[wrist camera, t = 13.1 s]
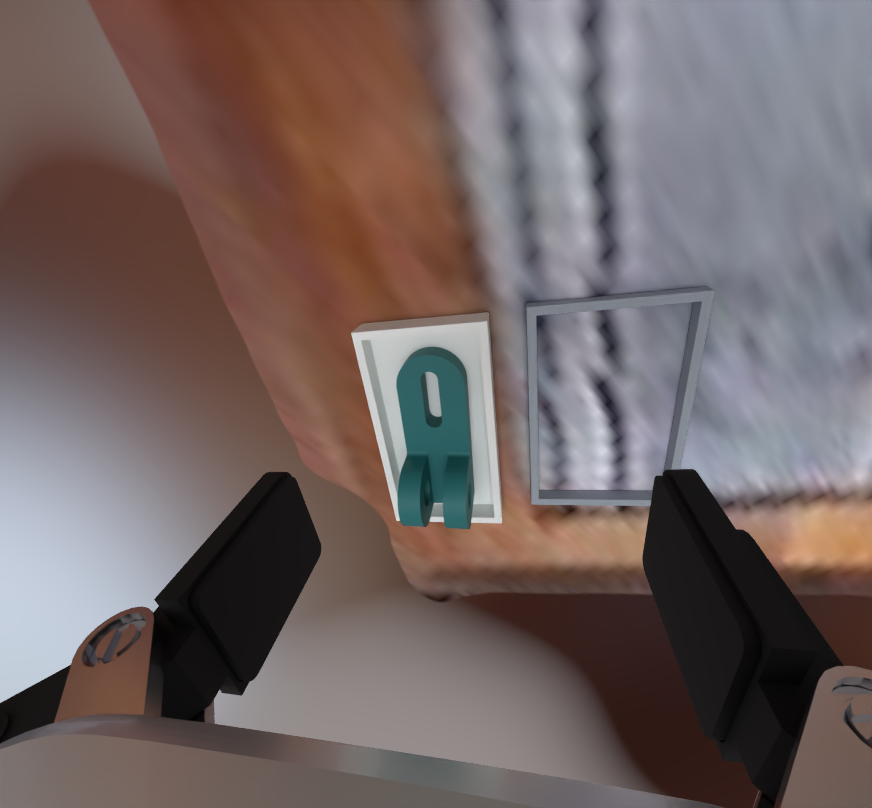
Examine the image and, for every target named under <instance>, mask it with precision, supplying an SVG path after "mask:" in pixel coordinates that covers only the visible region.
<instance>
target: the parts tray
mask: <svg viewBox="0 0 872 808" xmlns="http://www.w3.org/2000/svg"><path fill="white" fill-rule="evenodd" d="M351 334H352V338H353V343H354V347H355V351H356V355H357V359H358V363H359V367H360V371H361V376H362V380H363V384H364V388H365V392H366V396H367V400H368V404H369V409H370V413H371V417H372V421H373V425H374V429H375V433H376V437H377V442H378V446H379V450H380V454H381V458H382V462H383V466H384V470H385V475H386V479H387V483H388V487H389V491H390V495H391V499H392V503H393V508H394V512H395V516H396V520H397V521H400V518H399V514H398V484H399V477H400V473H401V469H402V466H403V464H404V461H405V459H406V456H407V450H406V443H405V437H404V431H403V425H402V419H401V412H400V406H399V400H398V394H397V387H396V381H397V376H398V373H399V371H400V369H401V367H402V366H403V364H404V363H405V361H406V360H407V358H408V357H409V356H410V355H411V354H412V353H413V352H415V351H417V350H419V349H421V348H425V347H439V348H443V349H446V350H448V351H450V352H452V353H453V354H454V355H456V356H457V357H458V358H459V359H460V361H461V362H462V363H463V365H464V367H465V369H466V373H467V381H468V397H469V412H470V427H471V442H472V458H473V473H474V488H475V493H474V502H473V511H472V519H471V523H502V493H501V478H500V464H499V450H498V436H497V422H496V408H495V394H494V380H493V366H492V352H491V338H490V324H489V312H485V313H473V314H462V315H451V316H440V317H429V318H418V319H407V320H396V321H385V322H374V323H363V324H361V325H360V326H358V327H357V328H356V329H355V330H354V331H353V332H352V333H351ZM425 376H426V384H427V392H428V401H429V409H430V412H431V414H432V415H434V416H436V417H440V416H442V415H441V405H440V396H439V386H438V378H437V376H436V375H435V374H434V373H432V372H425ZM429 522H444V517H443V503H434V505H433V509H432V513H431V517H430V521H429Z"/></svg>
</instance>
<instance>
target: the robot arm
mask: <svg viewBox="0 0 872 808" xmlns="http://www.w3.org/2000/svg"><path fill="white" fill-rule="evenodd" d="M320 554H321V543H320V541H319V538H318V535H317V533H316V530H315V527H314V525H313V522H312V520H311V517H310V514H309V512H308V509H307V506H306V504H305V501H304V499H303V496H302V494H301V491H300V488H299V486H298V483H297V481H296V479H295V478H294V477H292V476H291V475H290V474H289V473H288V472H268V473H266V474H264V475H263V476H262V478H261V479H260V480H259V481H258V482H257V483H256V484H255V485H254V486H253V488H252V489H251V490H250V491H249V492H248V493H247V495H246V496H245V497H244V498H243V499H242V500H241V502H239V504H238V505H237V506H236V507H235V508H234V509H233V510H232V512H231V513H230V514H229V515H228V516H227V517H226V519H225V520H224V521H223V522H222V523H221V524H220V525H219V526H218V528H217V529H216V530H215V531H214V532H213V533H212V534H211V535H210V537H209V538H208V539H207V540H206V541H205V543H204V544H203V545H202V546H201V547H200V548H199V549H198V550H197V552H196V553H195V554H194V555H193V556H192V557H191V558H190V559H189V561H188V562H187V563H186V564H185V565H184V566H183V568H182V569H181V570H180V571H179V572H178V573H177V574H176V575H175V577H174V578H173V579H172V580H171V581H170V582H169V583H168V584H167V586H166V587H165V588H164V589H163V590H162V591H161V592H160V594H159V595H158V596H157V597H156V598H155V601H156V602H157V604H158V605H159V607H158V608H157V609H156V610H155V612H154V613H153V612H152V611H151V610H150V609H149V608H146V607H135V608H130V609H128V610H125V611H122V612H120V613H118V614H116V615H114V616H113V617H111V618H109V619H108V620H106V621H105V622H103V623H102V624H101V625H99V626H98V627H97V628H96V629H95V630H94V631H92V632H91V633H90V634H89V635H88V636H87V637H86V639H85V640H84V641H83V643H82V644H81V645H80V646H79V648H78V649H77V651H76V654H75V655H74V658H73V660H72V663H71V665H70V666H68V667H66V668H64V669H62V670H60V671H59V672H57V673H55V674H53V675H51V676H49V677H48V678H46V679H44V680H42V681H40V682H38V683H37V684H35V685H33V686H31V687H29V688H27V689H25V690H24V691H22V692H20V693H18V694H16V695H14V696H13V697H11V698H9V699H7V700H6V701H3V702H2V703H0V808H724V807H719V806H715V805H711V804H707V803H702V802H697V801H692V800H686V799H680V798H675V797H669V796H664V795H658V794H653V793H647V792H642V791H636V790H630V789H625V788H619V787H613V786H608V785H603V784H597V783H591V782H584V781H578V780H572V779H566V778H560V777H554V776H547V775H541V774H535V773H529V772H522V771H516V770H510V769H504V768H497V767H491V766H485V765H479V764H473V763H466V762H460V761H453V760H447V759H441V758H434V757H428V756H421V755H415V754H409V753H402V752H396V751H390V750H382V749H376V748H370V747H364V746H357V745H351V744H344V743H338V742H331V741H325V740H318V739H311V738H305V737H299V736H291V735H285V734H278V733H272V732H265V731H258V730H251V729H245V728H238V727H231V726H225V725H218V724H215V723H214V722H215V720H214V698H215V696H216V695H217V693H218V691H219V689H220V690H221V692H222V693H227V694H234V695H242V694H243V693H244V691H245V689H246V687H247V685H248V683H249V681H252V680H253V679H254V678H255V677H256V676H257V675H258V673H259V671H260V669H261V667H262V666H263V664H264V662H265V660H266V658H267V656H268V654H269V652H270V650H271V648H272V646H273V644H274V642H275V641H276V639H277V637H278V635H279V633H280V631H281V629H282V627H283V626H284V624H285V622H286V620H287V618H288V616H289V614H290V612H291V610H292V608H293V606H294V604H295V603H296V601H297V599H298V597H299V595H300V593H301V591H302V589H303V587H304V585H305V584H306V582H307V580H308V578H309V576H310V574H311V572H312V570H313V568H314V566H315V565H316V563H317V561H318V559H319V557H320ZM643 566H644V571H645V574H646V576H647V579H648V582H649V585H650V588H651V590H652V593H653V596H654V598H655V601H656V604H657V607H658V609H659V613H660V615H661V618H662V621H663V624H664V626H665V629H666V632H667V634H668V637H669V640H670V643H671V646H672V648H673V651H674V654H675V657H676V659H677V662H678V665H679V668H680V671H681V674H682V676H683V679H684V682H685V685H686V687H687V690H688V693H689V696H690V699H691V701H692V704H693V707H694V710H695V712H696V715H697V718H698V721H699V724H700V726H701V729H702V731H703V733H704V735H705V736H706V737H707V738H708V739H715V741H716V743H717V746H718V749H719V751H720V754H721V756H722V759H723V760H724V761H733V762H739V763H744V765H745V767H746V770H747V772H748V774H749V777H750V779H751V781H752V783H753V784H754V785H755V786H756V787H757V788H758V789H759V792H758V795H757V798H756V801H755V804H754V807H753V808H872V671H871V670H867V669H863V668H859V667H855V666H844V665H843V664H842V663H841V661H840V660H839V658H838V657H837V656H836V654H835V653H834V651H833V650H832V649H831V647H830V646H829V644H828V643H827V642H826V640H825V639H824V637H823V636H822V635H821V633H820V632H819V630H818V629H817V628H816V626H815V625H814V623H813V622H812V620H811V619H810V618H809V616H808V615H807V614H806V612H805V611H804V609H803V608H802V606H801V605H800V604H799V602H798V601H797V599H796V598H795V597H794V595H793V594H792V592H791V591H790V590H789V588H788V587H787V585H786V584H785V583H784V581H783V580H782V578H781V577H780V575H779V574H778V573H777V571H776V570H775V568H774V567H773V566H772V564H771V563H770V561H769V560H768V559H767V557H766V556H765V554H764V553H763V552H762V550H761V549H760V547H759V546H758V545H757V543H756V542H755V540H754V539H753V538H752V537H751V536H750V534H749V533H747V532H746V531H744V530H736V529H735V527H734V526H733V524H732V523H731V521H730V520H729V519H728V517H727V516H726V514H725V513H724V511H723V510H722V508H721V507H720V505H719V504H718V502H717V501H716V499H715V498H714V496H713V495H712V493H711V492H710V491H709V489H708V488H707V486H706V485H705V483H704V482H703V480H702V479H701V477H700V476H699V474H698V473H697V472H696V471H695V470H693V469H667V470H665V471H664V472H663V476H656V477H655V480H654V486H653V492H652V499H651V505H650V512H649V518H648V525H647V531H646V537H645V544H644V550H643Z"/></svg>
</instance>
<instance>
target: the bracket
mask: <svg viewBox="0 0 872 808" xmlns="http://www.w3.org/2000/svg"><path fill="white" fill-rule="evenodd" d="M425 372H432V373H434V374H435V375H436V376H437V378H438V386H439V396H440V405H441V415H442V416H440V417H436V416H434V415H432V414H431V412H430V409H429V401H428V392H427V384H426V376H425ZM396 387H397V394H398V400H399V406H400V412H401V419H402V425H403V431H404V437H405V443H406V450H407V456H406V459H405V461H404V464H403V466H402V469H401V473H400V477H399V484H398V514H399V518H400V521H401V523H402V525H404V526H421V527H426V526H427V525H428V523H429V521H430V517H431V513H432V509H433V505H434V503H443V517H444V523H445V526H446V528H458V529H470V526H471V519H472V511H473V502H474V493H475V488H474V473H473V458H472V442H471V427H470V412H469V397H468V381H467V373H466V369H465V367H464V365H463V363H462V362H461V361H460V359H459V358H458V357H457V356H456V355H454V354H453V353H452V352H450V351H448V350H446V349H443V348H439V347H425V348H421V349H419V350H417V351H415V352H413V353H412V354H411V355H410V356H409V357H408V358H407V360H406V361H405V363H404V364H403V366H402V367H401V369H400V371H399V373H398V376H397V381H396Z"/></svg>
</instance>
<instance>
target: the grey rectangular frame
mask: <svg viewBox="0 0 872 808" xmlns="http://www.w3.org/2000/svg"><path fill="white" fill-rule="evenodd" d="M714 294H715V290H714V289H711V288H709V287H707V286H706V287H695V288H684V289H674V290H663V291H652V292H641V293H631V294H620V295H609V296H598V297H588V298H577V299H566V300H556V301H545V302H534V303H526V323H527V362H528V400H529V439H530V477H531V502H532V504H537V505H621V506H650V505H651V499H652V492H653V491H593V490H539V475H538V403H537V332H536V316H538V315H550V314H561V313H573V312H584V311H596V310H608V309H619V308H631V307H642V306H654V305H666V304H677V303H689V302H693V307H692V313H691V319H690V325H689V330H688V336H687V342H686V348H685V354H684V359H683V365H682V371H681V377H680V383H679V388H678V394H677V400H676V406H675V412H674V417H673V423H672V429H671V435H670V440H669V446H668V452H667V458H666V464H665V469H664V471H665V470H667V469H680V468H681V463H682V457H683V452H684V447H685V442H686V437H687V432H688V427H689V422H690V417H691V411H692V406H693V401H694V396H695V391H696V386H697V381H698V376H699V371H700V366H701V360H702V355H703V350H704V345H705V340H706V335H707V330H708V325H709V320H710V315H711V309H712V304H713V299H714Z"/></svg>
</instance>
